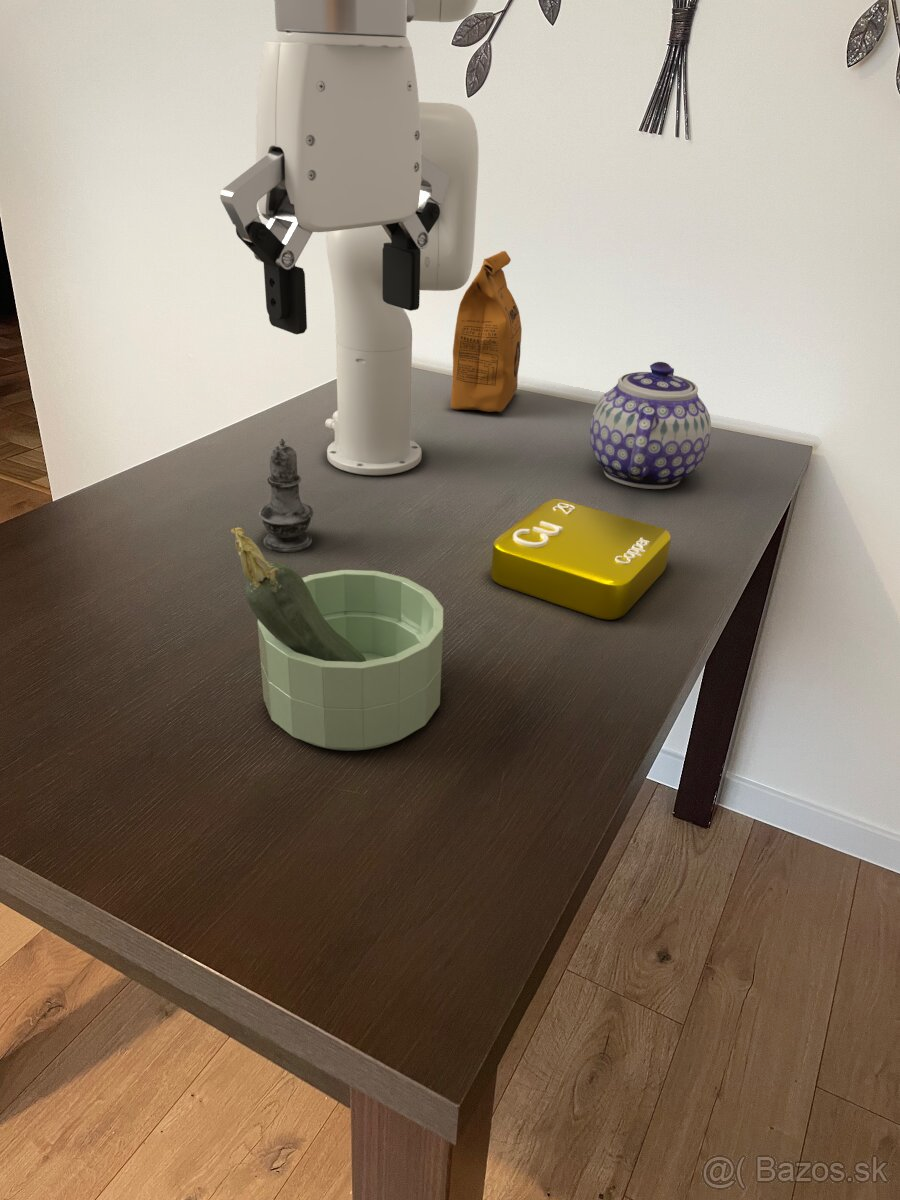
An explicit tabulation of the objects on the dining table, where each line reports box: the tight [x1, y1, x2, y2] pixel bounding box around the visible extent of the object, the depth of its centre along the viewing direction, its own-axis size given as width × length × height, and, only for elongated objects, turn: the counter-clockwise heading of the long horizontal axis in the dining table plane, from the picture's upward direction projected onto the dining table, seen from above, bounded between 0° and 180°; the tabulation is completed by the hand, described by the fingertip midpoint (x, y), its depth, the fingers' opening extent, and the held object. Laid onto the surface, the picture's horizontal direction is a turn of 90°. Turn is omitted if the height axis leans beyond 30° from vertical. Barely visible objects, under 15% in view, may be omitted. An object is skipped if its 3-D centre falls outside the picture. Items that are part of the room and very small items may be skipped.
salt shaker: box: [258, 438, 314, 553], centre depth 99 cm, size 6×6×12 cm
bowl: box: [256, 569, 444, 752], centre depth 76 cm, size 15×15×8 cm
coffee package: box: [450, 250, 523, 413], centre depth 139 cm, size 10×12×22 cm
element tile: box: [490, 498, 672, 621], centre depth 97 cm, size 15×15×5 cm
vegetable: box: [230, 526, 366, 662], centre depth 70 cm, size 4×4×20 cm
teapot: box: [589, 361, 712, 490], centre depth 118 cm, size 25×15×15 cm, turn 160°
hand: (347, 317), depth 62 cm, fingers open, 9 cm apart
